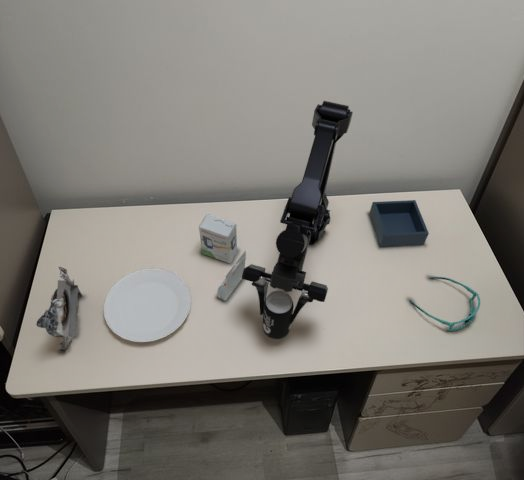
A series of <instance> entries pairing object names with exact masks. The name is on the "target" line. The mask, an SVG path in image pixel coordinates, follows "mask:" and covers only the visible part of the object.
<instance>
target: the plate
mask: <svg viewBox="0 0 524 480" xmlns="http://www.w3.org/2000/svg"><path fill="white" fill-rule="evenodd" d="M191 302H192V296H191V292H190V289H189V287H188V285H187V283H186V281H184V280H183V279H182V278H181V277H180V276H179V275H178V274H176V273H174V272H173V271H170V270H166V269H164V268H155V267H154V268H153V267H152V268H150V267H149V268H142V269H139V270H135V271H132V272H130V273H127V274H126V275H125V276H122V277H121V278H120V279H119V280H118V281H116V282H115V283H114V284H113V286H112V287H111V288H110V289H109V290H108V293H107V295H106V297H105V299H104V304H103V317H104V320H105V322H106V324H107V326H108V328H109V329H110V330H111V331H112V332H113V333H114V334H115V335H116V336H118V337H119V338H121V339H123V340H127V341H130V342H135V343H148V342H156V341H158V340H161V339H164V338H166V337H168V336H169V335H171V334H172V333H174V332H175V331H177V330H178V329H179V328H180V327H181V326H182V325H183V323H184V322H185V320H186V319H187V317H188V316H189V312H190V310H191V305H192V303H191Z"/></svg>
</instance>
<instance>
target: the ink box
mask: <svg viewBox="0 0 524 480" xmlns="http://www.w3.org/2000/svg"><path fill="white" fill-rule="evenodd" d="M198 230H199V232H198V233H199V239H200V246H201V253H202V255H204V256H207V257H210V258H213V259H216V260H218V261H221V262H225V263H228V264H231V263H232V262H233V260H234V258H235V256H236V255H237V252H238V237H237V236H238V235H237V232H238V231H237V224H236V223H234V222H233V221H231V220H228V219H227V220H226V219H223V218H222V217H218V216H216V215H212V214H209V213H208V214H206V215H205V216H204V217H203V219H202V220H201V222H200V224H199V225H198Z"/></svg>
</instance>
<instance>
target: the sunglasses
mask: <svg viewBox="0 0 524 480" xmlns="http://www.w3.org/2000/svg"><path fill="white" fill-rule="evenodd" d="M428 278H429V279H430V280H434V279H437V280H445V281H449V282H451V283H454V284H456V285H459V286H461V287H462V288H464V289H465V290H466V291H467V292H468V293H470V294H472V296H471V298H470V299H469V303H470V313H469V314H468V316H467V317H465V318H463V319H462V320H459V321H454V322H450V321H447V320H443V319H440V318H438V317H435V316H434V315H432V314H430V313H428V312H427V311H425V310H424V309H423V308H422V307H420V306H419V305H417V304H416V303H415V302H414V301H413V300H412V299H409V301H410V303H411V304H412V305H413V306H414V307H415V308H416V309H418V310H419V311H420V312H422V313H423V314H424V315H425V316H427V317H429V318H431V319H433V320H435V321H437V322H439V323H440V324H442V325H445V326H448V328H447V330H448V331H450V332H452V331H454V332H455V331H458V330H461V329H464V328H465V327H467V326H468V325H470V324H471V323H472V322H474V320H475V319H476V314H477V313H478V311H479V310H480V307H481V297H480V294H479V293H478V292H476V291H475V290H474V289H472V288H471V287H469V286H468V285H465V284H463V283H462V282H459V281H457V280H454V279H452V278H449V277H444V276H429V277H428ZM475 298H477V307H476V308H475V310H474V300H475ZM462 323H464V324H463V325H461V326H460V327H454V326H455V325H458V324H462ZM453 327H454V328H453Z"/></svg>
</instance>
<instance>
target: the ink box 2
mask: <svg viewBox="0 0 524 480" xmlns="http://www.w3.org/2000/svg"><path fill="white" fill-rule="evenodd" d="M246 257H247V252H246V250H244V252H243V253H242V254H241V255H240V257H239V258H238V260H237V261H236V262H235V263H234V265H233V266H232V267H231V268H230V269H229V271H228V272H227V274H226V275H225V278H224V280H223V282H222V283H221V284H220V286H218V288H217V298H218V299H219V300H222V301H224V302H226V301H227V300H228V299H229V297H230V296H231V295H232V293H233V292H234V291H235V289H237V286H238V285H239V284H240V283H241V281H242V280H243V279H242V274H243V270H244V268H246V259H247V258H246Z"/></svg>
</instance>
